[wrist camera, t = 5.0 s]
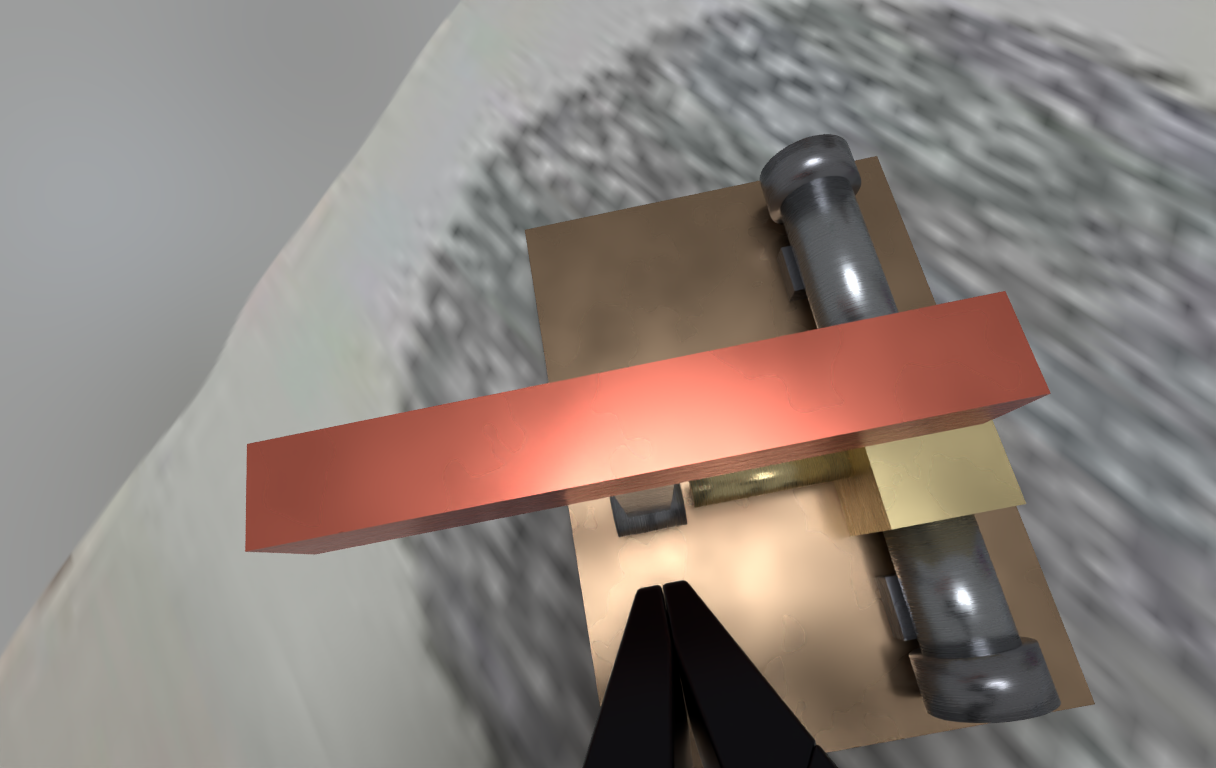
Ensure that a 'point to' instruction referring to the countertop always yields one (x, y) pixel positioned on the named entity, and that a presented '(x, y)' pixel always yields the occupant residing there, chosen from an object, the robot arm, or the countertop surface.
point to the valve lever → (641, 430)
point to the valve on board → (808, 467)
